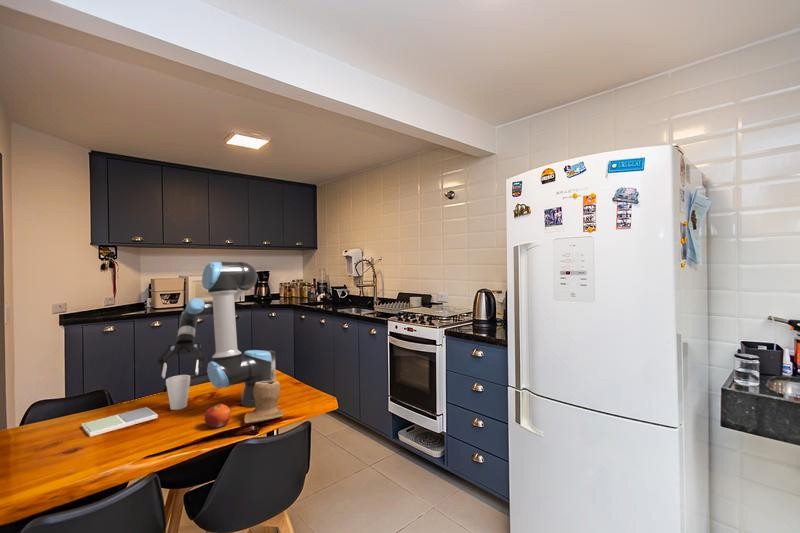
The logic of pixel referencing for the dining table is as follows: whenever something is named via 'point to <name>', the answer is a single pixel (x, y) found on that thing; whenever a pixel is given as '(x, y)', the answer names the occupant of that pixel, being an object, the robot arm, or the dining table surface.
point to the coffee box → (272, 364)
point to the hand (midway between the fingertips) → (180, 375)
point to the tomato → (217, 415)
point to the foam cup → (178, 391)
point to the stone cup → (265, 402)
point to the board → (118, 421)
